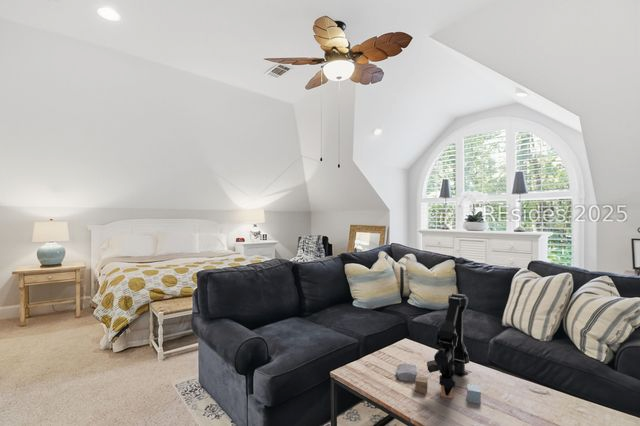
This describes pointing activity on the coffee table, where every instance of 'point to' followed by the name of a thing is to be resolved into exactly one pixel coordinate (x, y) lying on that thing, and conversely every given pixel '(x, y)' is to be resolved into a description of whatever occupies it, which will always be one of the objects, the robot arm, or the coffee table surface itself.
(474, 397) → the slate blue block
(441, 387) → the terracotta block
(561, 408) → the coffee table surface
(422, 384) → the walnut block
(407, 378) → the stone block
